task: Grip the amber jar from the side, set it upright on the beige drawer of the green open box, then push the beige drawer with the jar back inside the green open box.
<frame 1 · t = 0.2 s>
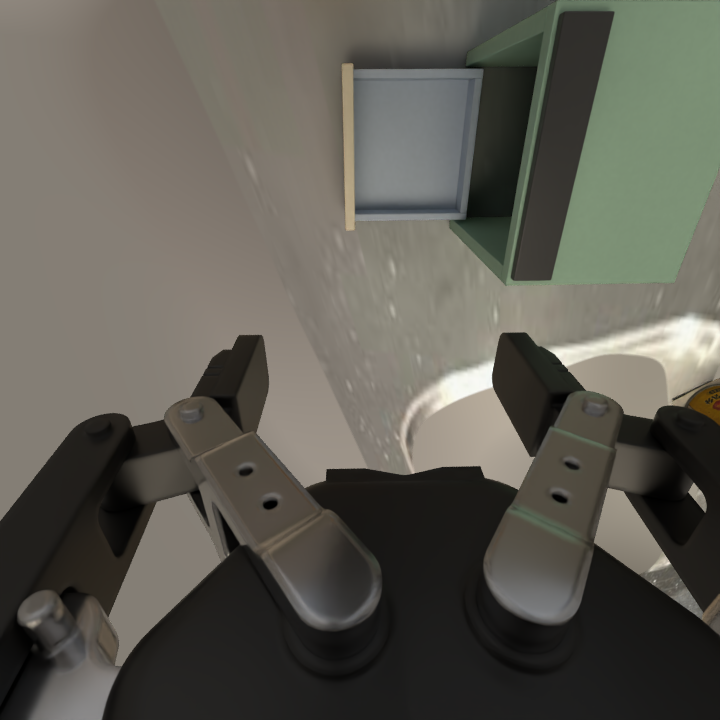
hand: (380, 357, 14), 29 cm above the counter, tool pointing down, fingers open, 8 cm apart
condiment: (707, 406, 53), on the counter
beige drawer: (410, 151, 34), point 4 cm above the counter, slide at 9.0 cm
green open box: (517, 147, 37), on the counter
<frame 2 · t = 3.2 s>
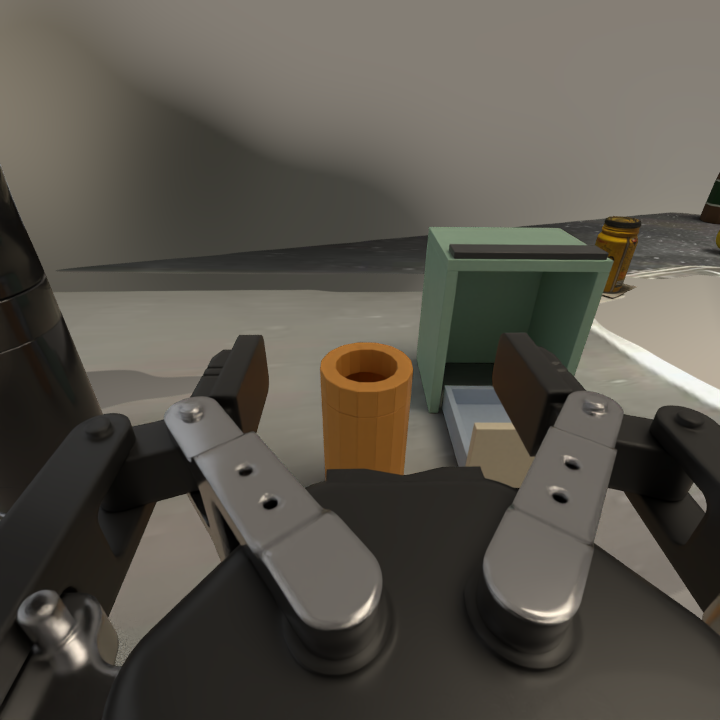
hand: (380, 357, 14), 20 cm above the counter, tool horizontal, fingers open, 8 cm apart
beer bottle: (714, 222, 119), on the counter
jar: (363, 497, 34), on the counter
condiment: (603, 288, 74), on the counter
beige drawer: (517, 416, 37), point 4 cm above the counter, slide at 9.0 cm
green open box: (481, 383, 48), on the counter
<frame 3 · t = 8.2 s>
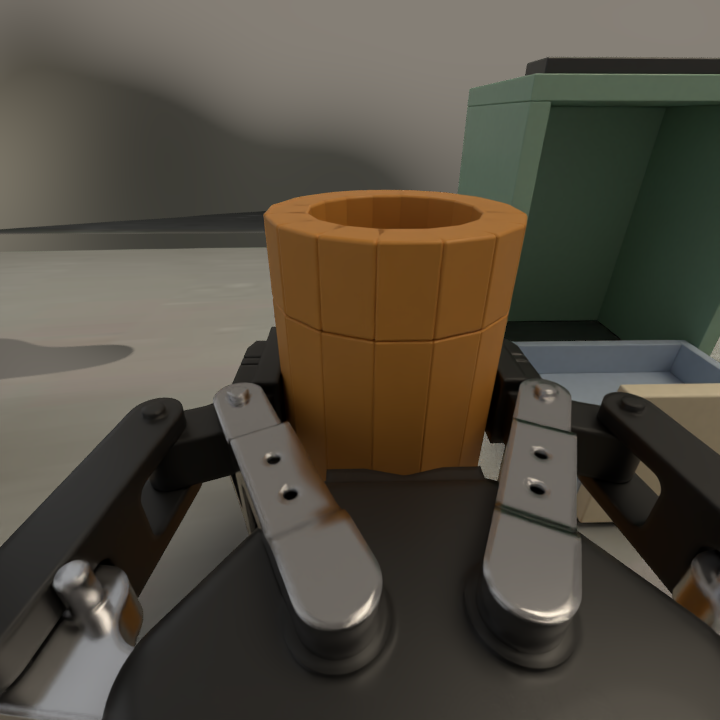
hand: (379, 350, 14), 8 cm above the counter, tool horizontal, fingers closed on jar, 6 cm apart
jar: (379, 550, 16), on the counter, touching gripper
beige drawer: (655, 384, 20), point 4 cm above the counter, slide at 9.0 cm
green open box: (550, 346, 31), on the counter
when the fingers open (9 cm above the counter, at t = 15.6 s): jar stays where it is, resting on beige drawer.
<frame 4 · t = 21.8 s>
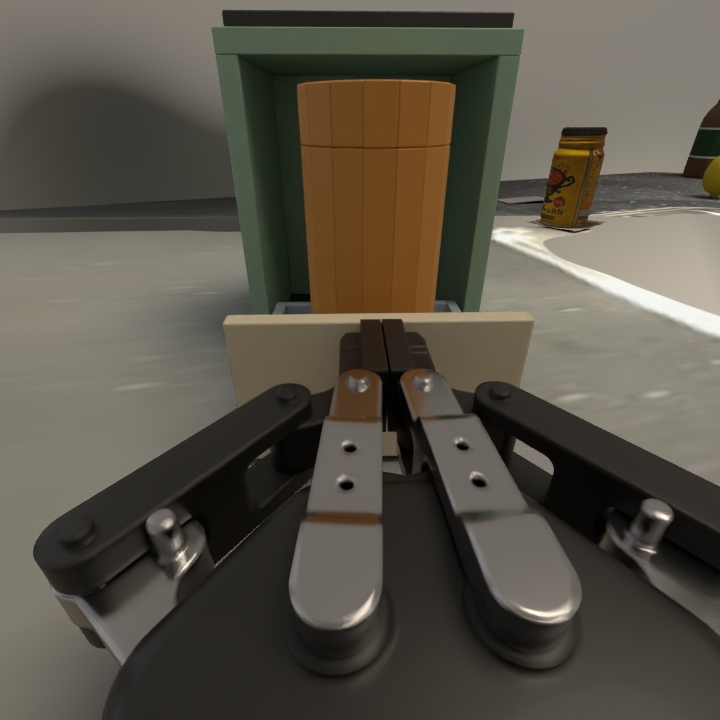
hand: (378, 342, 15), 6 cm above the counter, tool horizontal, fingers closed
beer bottle: (699, 177, 105), on the counter
lemon: (712, 199, 78), on the counter
jar: (371, 370, 22), point 1 cm above the counter, touching beige drawer
condiment: (565, 225, 58), on the counter
beige drawer: (371, 333, 21), point 4 cm above the counter, slide at 8.8 cm, touching gripper, jar
cleaver: (534, 201, 75), on the counter
green open box: (363, 315, 31), on the counter
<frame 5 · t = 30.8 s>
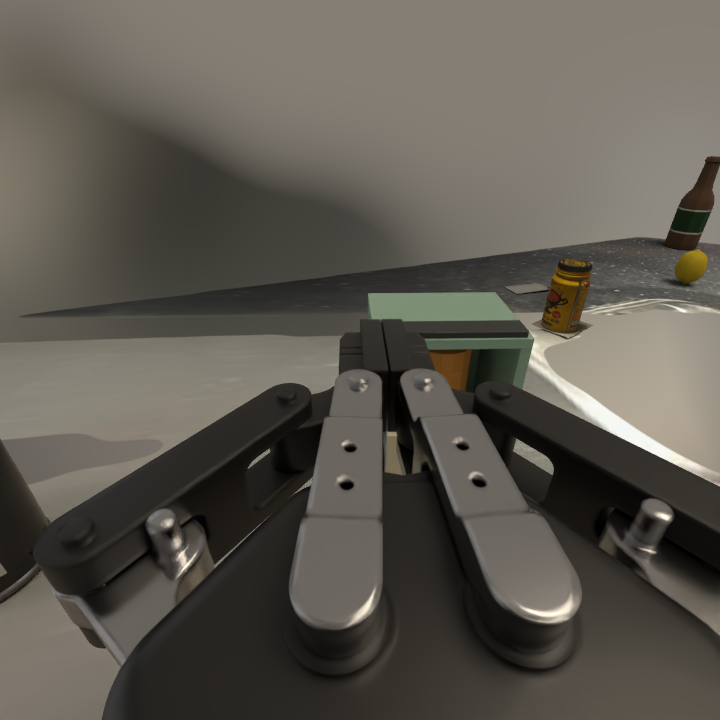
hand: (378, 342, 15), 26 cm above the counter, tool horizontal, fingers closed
beer bottle: (679, 247, 122), on the counter
lemon: (683, 284, 95), on the counter
jar: (430, 438, 47), point 1 cm above the counter, touching beige drawer
condiment: (561, 326, 76), on the counter
beige drawer: (432, 424, 46), point 4 cm above the counter, slide at 0.0 cm, touching jar
cleaver: (536, 289, 92), on the counter
green open box: (427, 441, 49), on the counter
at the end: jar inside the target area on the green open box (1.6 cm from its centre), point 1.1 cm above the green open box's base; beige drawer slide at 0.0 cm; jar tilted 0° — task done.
